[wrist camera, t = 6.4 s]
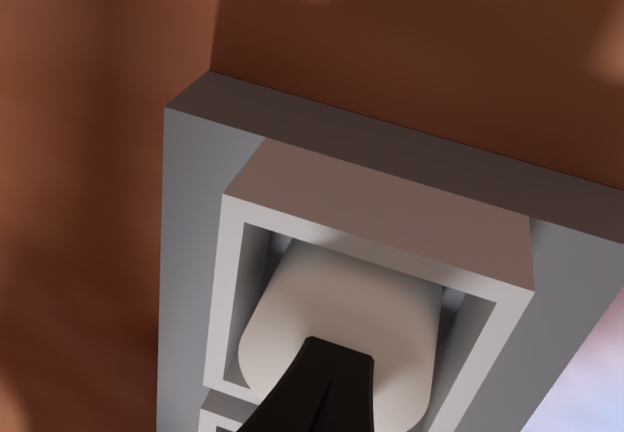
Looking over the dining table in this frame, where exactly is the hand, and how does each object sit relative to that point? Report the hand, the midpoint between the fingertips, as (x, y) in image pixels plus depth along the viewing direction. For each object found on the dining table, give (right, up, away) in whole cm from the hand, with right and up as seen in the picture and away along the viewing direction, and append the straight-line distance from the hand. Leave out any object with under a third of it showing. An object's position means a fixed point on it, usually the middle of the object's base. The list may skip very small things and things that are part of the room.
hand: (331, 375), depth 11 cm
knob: (+1, +2, +2) cm, 3 cm away
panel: (0, -2, +9) cm, 9 cm away
